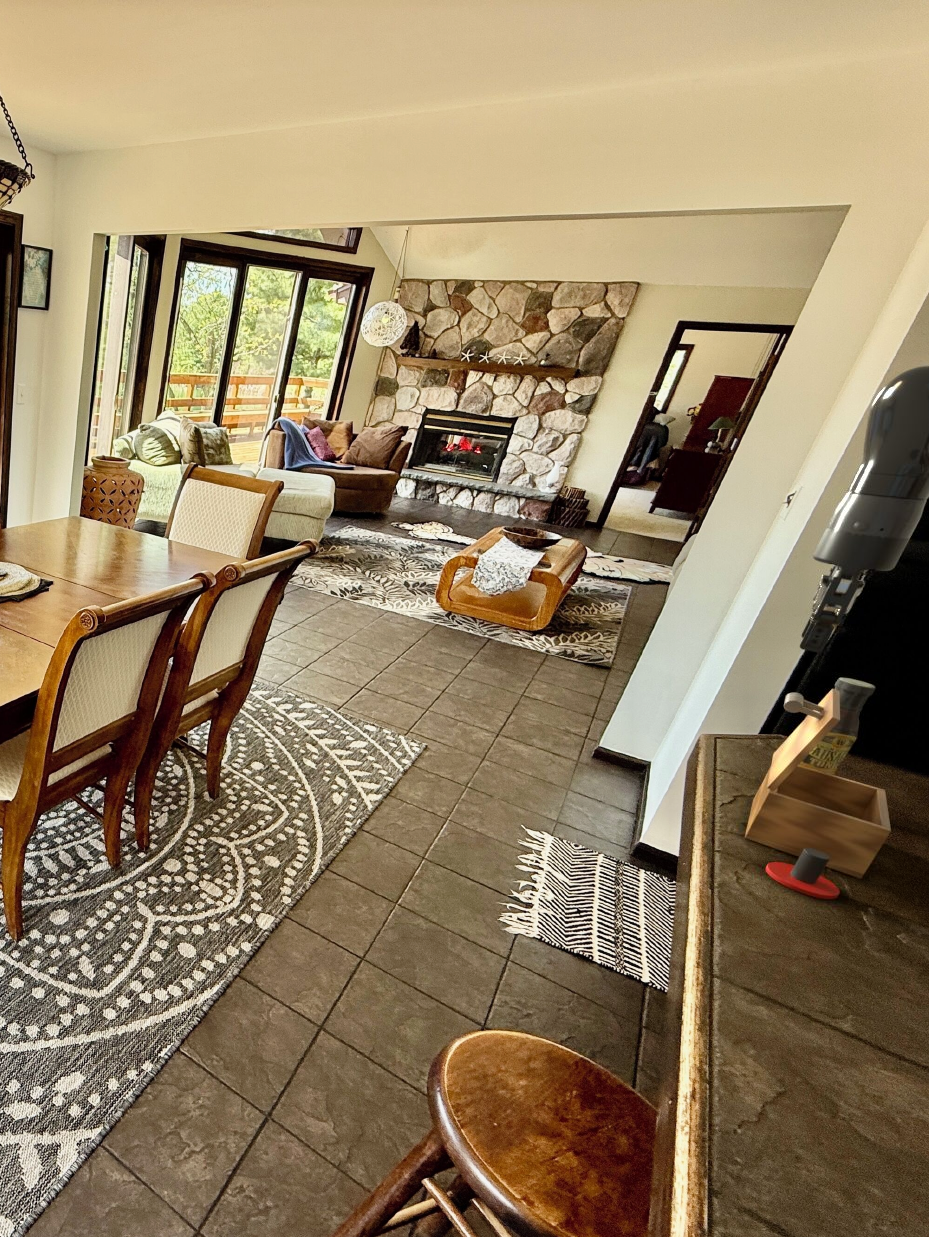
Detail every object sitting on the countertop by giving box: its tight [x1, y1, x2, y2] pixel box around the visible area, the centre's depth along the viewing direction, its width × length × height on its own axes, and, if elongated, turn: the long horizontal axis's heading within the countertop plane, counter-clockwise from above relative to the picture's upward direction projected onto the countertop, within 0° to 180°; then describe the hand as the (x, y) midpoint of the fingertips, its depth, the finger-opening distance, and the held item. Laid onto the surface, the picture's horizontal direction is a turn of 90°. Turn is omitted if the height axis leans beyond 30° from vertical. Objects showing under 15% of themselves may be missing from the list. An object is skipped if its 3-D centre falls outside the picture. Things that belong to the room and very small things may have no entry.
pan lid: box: [765, 848, 841, 900], centre depth 91 cm, size 7×7×5 cm
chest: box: [744, 765, 892, 880], centre depth 101 cm, size 12×17×8 cm
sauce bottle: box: [799, 677, 876, 775], centre depth 112 cm, size 7×6×20 cm
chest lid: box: [767, 688, 840, 791], centre depth 101 cm, size 12×17×5 cm
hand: (810, 644), depth 98 cm, fingers open, 8 cm apart
